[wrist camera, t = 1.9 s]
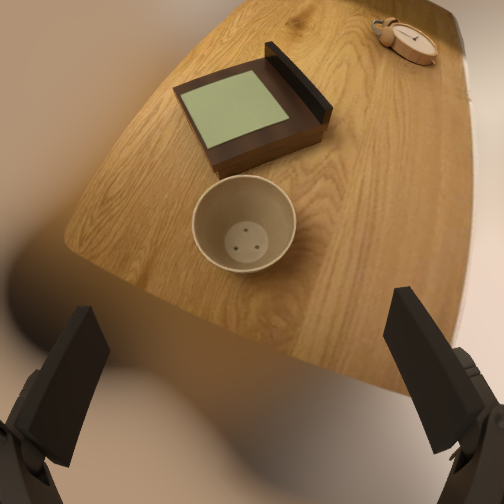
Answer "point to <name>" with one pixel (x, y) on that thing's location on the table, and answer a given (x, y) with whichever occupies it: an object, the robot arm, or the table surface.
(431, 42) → the alarm clock
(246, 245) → the flower pot
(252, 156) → the tray
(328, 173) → the table surface
